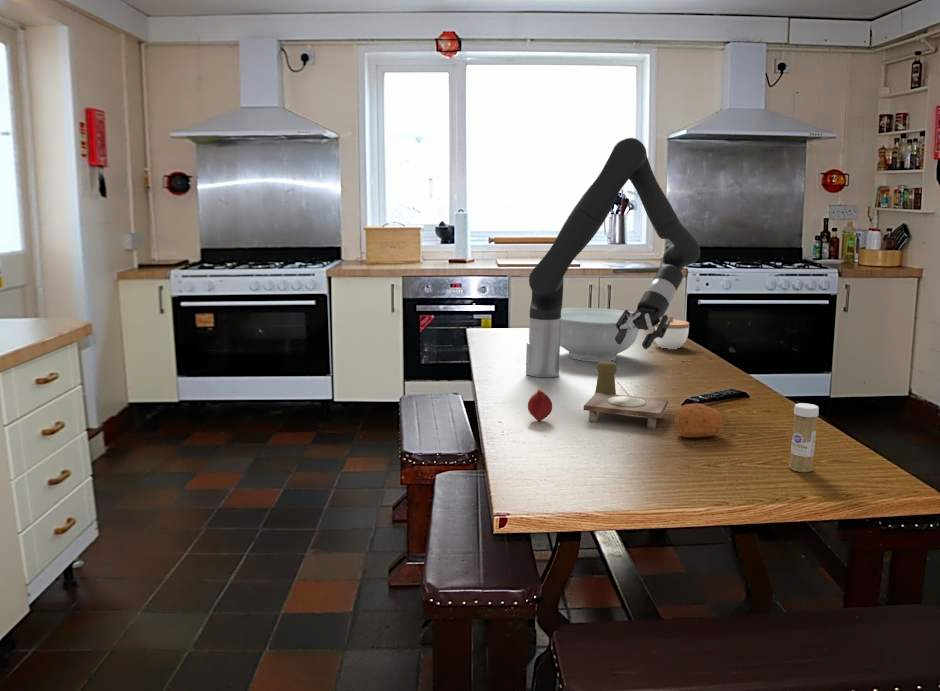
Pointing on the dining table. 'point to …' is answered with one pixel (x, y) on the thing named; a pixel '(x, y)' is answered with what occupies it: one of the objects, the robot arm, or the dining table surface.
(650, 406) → the wooden stand
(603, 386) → the olive pepper mill
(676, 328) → the lidded bowl
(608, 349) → the bowl
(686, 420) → the potato
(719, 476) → the dining table surface
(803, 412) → the sprinkles bottle
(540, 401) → the onion
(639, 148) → the robot arm
